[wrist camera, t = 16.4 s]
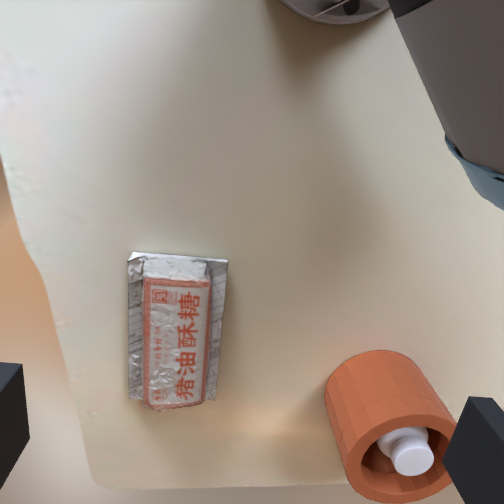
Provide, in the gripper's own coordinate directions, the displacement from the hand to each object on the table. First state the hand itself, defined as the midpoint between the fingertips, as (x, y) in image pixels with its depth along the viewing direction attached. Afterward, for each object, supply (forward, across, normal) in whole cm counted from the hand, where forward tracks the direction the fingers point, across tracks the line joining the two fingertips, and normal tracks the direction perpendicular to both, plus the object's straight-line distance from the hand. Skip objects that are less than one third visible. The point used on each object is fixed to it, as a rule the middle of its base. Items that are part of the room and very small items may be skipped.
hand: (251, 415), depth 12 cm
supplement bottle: (+28, +20, -22) cm, 41 cm away
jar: (+29, +20, -23) cm, 42 cm away
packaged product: (+29, -5, -16) cm, 33 cm away
